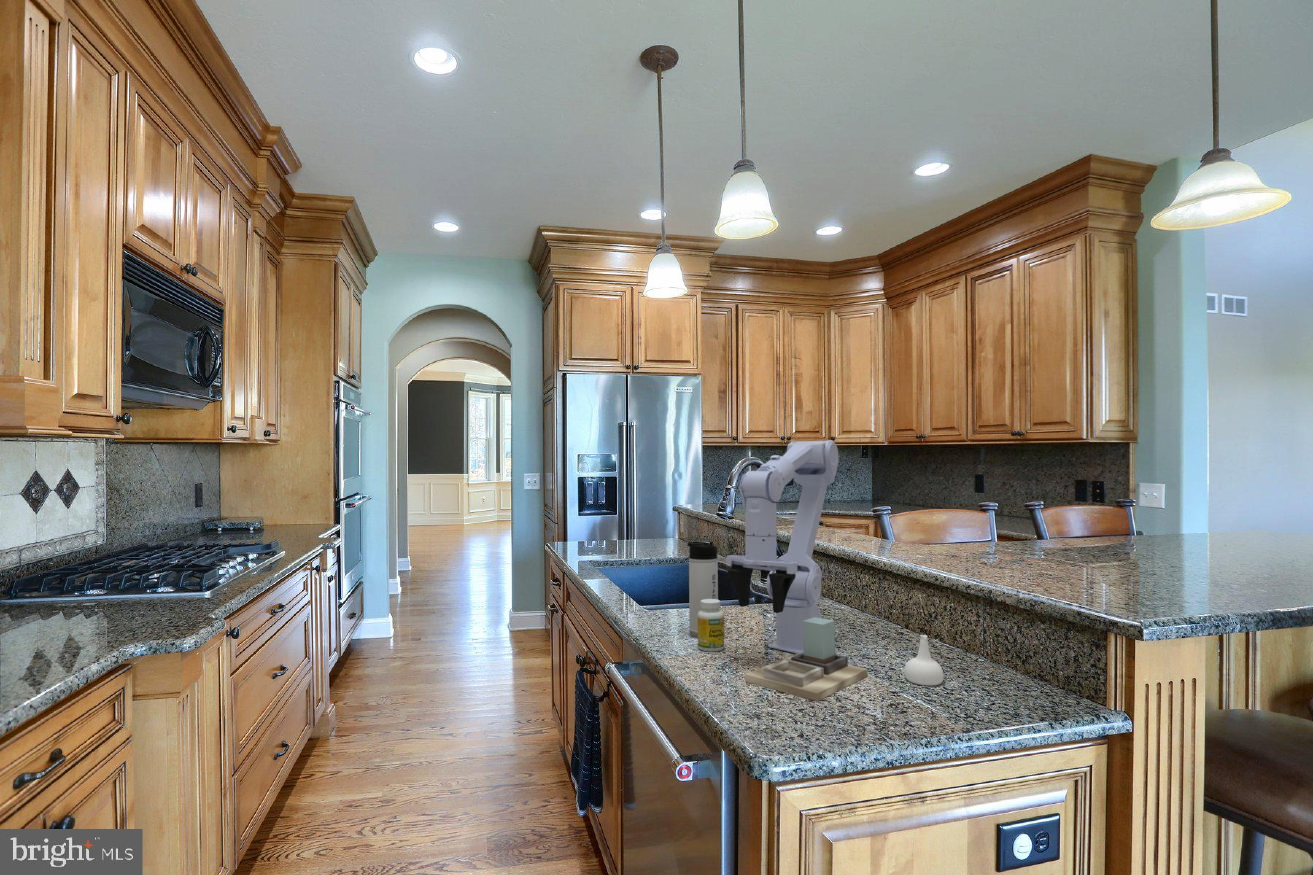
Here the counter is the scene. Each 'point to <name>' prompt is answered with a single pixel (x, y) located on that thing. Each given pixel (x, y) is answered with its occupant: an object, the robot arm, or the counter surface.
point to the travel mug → (701, 580)
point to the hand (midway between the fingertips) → (760, 608)
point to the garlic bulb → (923, 667)
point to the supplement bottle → (710, 626)
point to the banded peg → (819, 640)
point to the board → (807, 676)
